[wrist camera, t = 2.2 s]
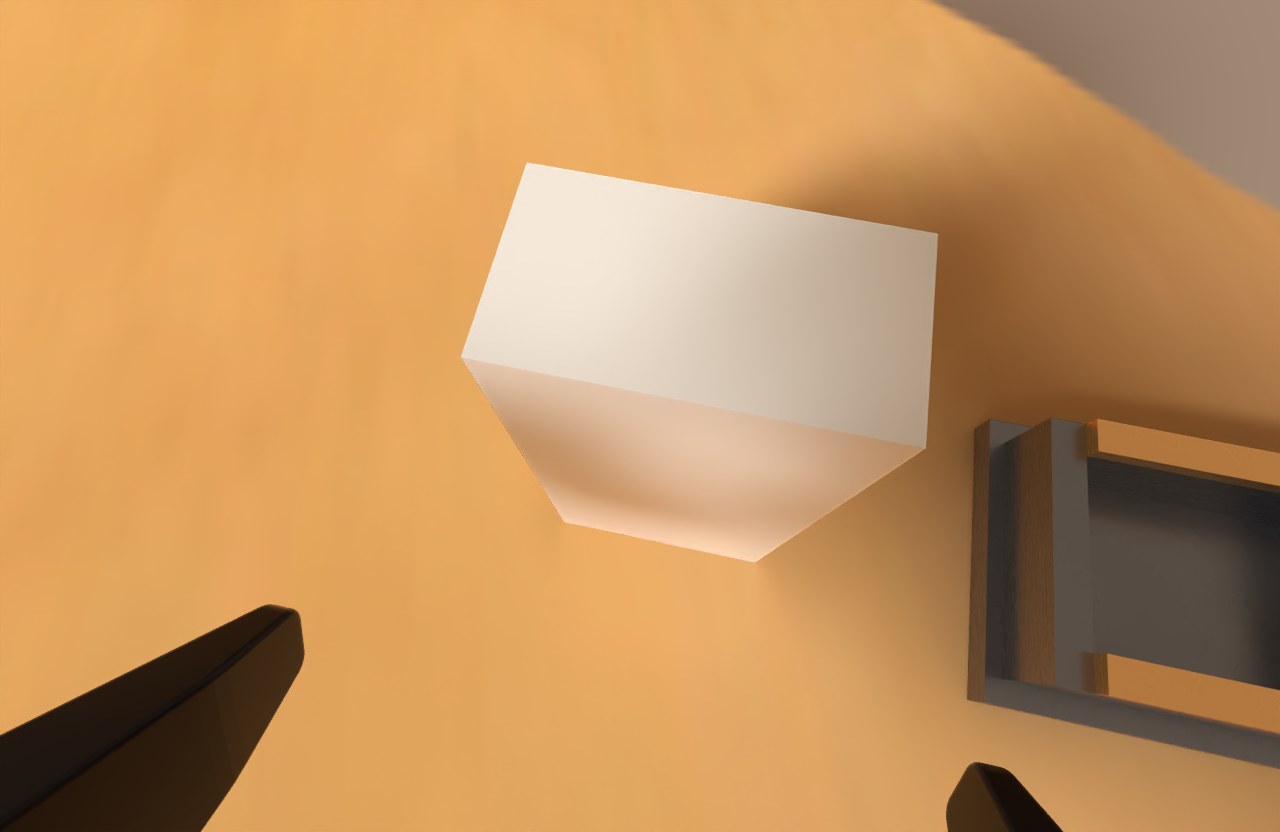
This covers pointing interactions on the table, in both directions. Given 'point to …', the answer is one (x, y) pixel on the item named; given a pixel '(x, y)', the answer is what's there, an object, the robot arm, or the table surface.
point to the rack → (1128, 583)
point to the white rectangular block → (702, 357)
